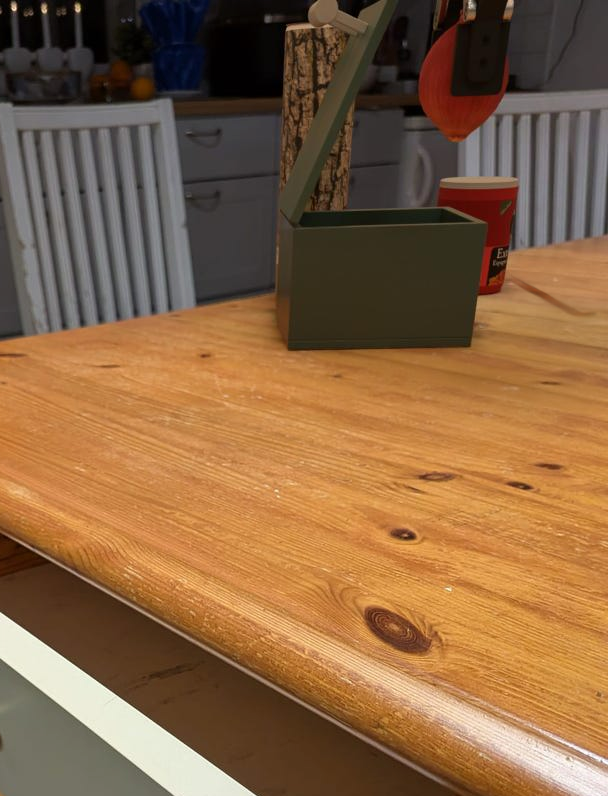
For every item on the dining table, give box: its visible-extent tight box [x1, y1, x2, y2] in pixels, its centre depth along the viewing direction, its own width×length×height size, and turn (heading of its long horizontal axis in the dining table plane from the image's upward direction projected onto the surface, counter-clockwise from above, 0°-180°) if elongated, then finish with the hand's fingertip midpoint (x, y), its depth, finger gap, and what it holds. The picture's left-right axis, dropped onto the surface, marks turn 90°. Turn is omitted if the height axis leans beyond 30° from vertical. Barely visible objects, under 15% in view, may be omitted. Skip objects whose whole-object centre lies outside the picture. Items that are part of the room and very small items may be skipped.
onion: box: [417, 9, 510, 143], centre depth 64 cm, size 6×6×8 cm
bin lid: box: [276, 0, 399, 224], centre depth 80 cm, size 16×14×5 cm
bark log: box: [274, 21, 356, 303], centre depth 95 cm, size 7×7×25 cm
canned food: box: [436, 175, 520, 296], centre depth 103 cm, size 8×8×11 cm
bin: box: [275, 206, 488, 351], centre depth 86 cm, size 16×14×10 cm
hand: (461, 92), depth 65 cm, fingers closed on onion, 6 cm apart
